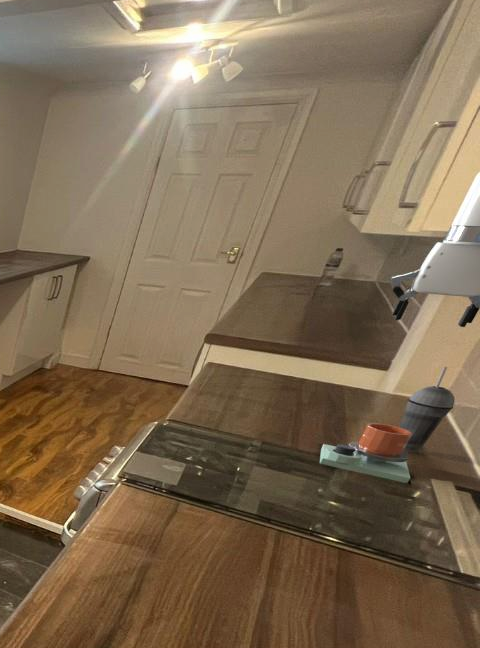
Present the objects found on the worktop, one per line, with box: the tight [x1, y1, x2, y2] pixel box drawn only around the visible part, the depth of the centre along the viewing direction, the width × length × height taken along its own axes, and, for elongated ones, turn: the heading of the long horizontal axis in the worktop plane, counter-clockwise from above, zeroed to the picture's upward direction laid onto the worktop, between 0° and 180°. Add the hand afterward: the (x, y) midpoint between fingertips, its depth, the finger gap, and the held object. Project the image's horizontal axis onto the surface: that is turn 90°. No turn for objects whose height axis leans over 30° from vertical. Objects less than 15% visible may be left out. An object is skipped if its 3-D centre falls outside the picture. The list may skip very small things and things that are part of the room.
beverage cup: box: [398, 366, 455, 454], centre depth 135 cm, size 7×7×20 cm
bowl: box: [357, 422, 412, 455], centre depth 127 cm, size 7×7×5 cm
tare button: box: [334, 443, 356, 456], centre depth 128 cm, size 3×3×2 cm
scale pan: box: [348, 441, 410, 464], centre depth 129 cm, size 10×10×4 cm
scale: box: [319, 443, 411, 484], centre depth 129 cm, size 14×12×3 cm
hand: (428, 322), depth 124 cm, fingers open, 9 cm apart
